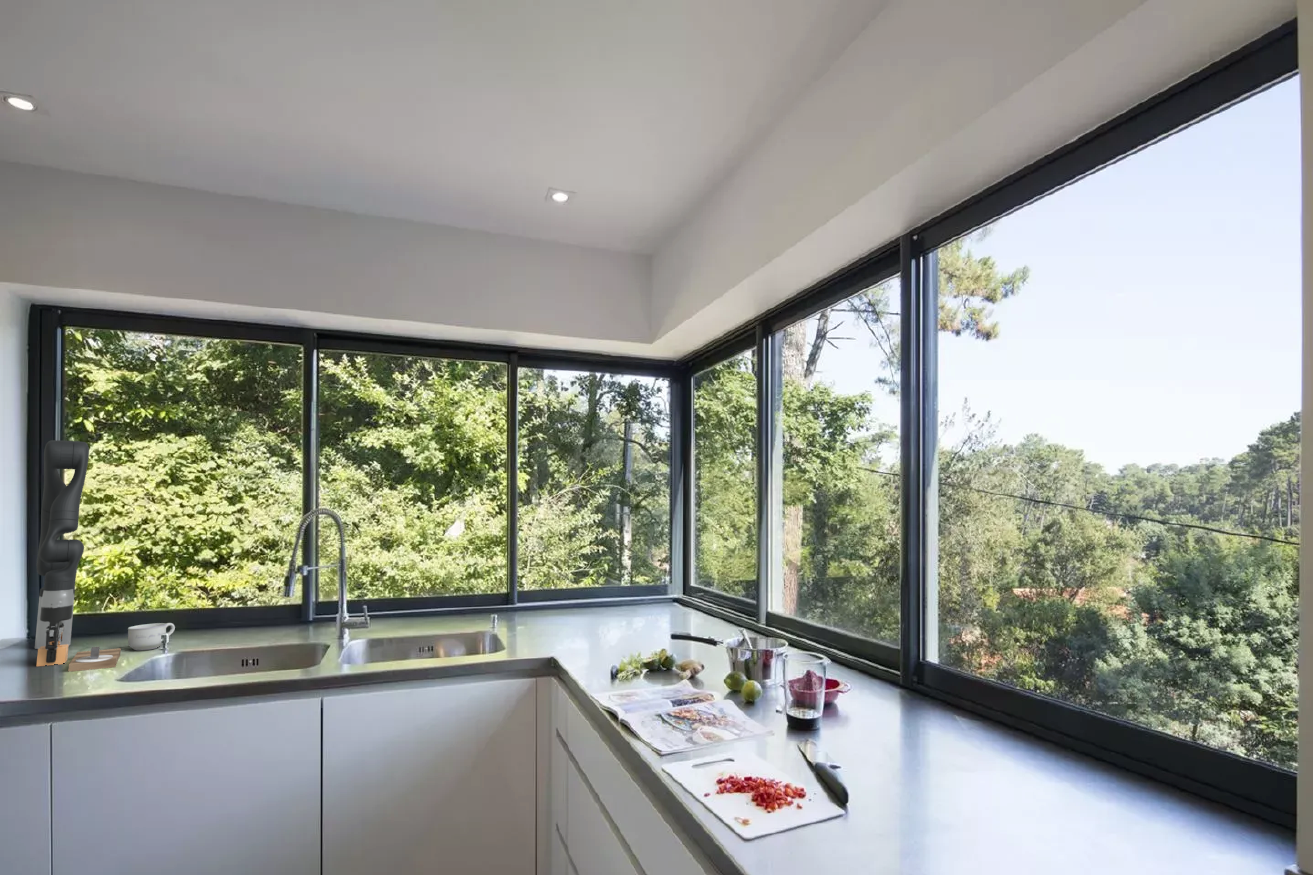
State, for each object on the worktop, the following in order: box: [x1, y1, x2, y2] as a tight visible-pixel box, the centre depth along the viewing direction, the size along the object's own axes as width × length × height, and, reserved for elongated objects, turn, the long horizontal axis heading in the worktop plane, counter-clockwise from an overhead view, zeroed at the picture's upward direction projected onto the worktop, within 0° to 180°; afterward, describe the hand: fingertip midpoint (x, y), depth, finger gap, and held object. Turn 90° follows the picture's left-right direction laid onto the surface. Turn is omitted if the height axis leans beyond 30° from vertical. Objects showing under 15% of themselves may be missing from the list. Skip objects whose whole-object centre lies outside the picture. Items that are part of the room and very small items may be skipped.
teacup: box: [127, 622, 176, 651], centre depth 240 cm, size 14×11×8 cm
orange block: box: [36, 644, 70, 667], centre depth 217 cm, size 7×5×5 cm
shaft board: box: [67, 646, 122, 672], centre depth 218 cm, size 20×11×5 cm, turn 34°
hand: (52, 660), depth 216 cm, fingers closed on orange block, 5 cm apart
